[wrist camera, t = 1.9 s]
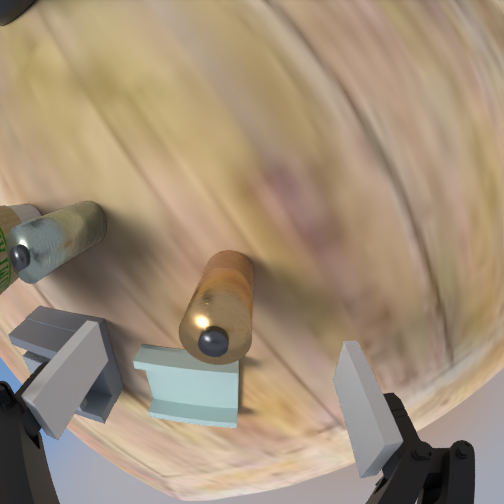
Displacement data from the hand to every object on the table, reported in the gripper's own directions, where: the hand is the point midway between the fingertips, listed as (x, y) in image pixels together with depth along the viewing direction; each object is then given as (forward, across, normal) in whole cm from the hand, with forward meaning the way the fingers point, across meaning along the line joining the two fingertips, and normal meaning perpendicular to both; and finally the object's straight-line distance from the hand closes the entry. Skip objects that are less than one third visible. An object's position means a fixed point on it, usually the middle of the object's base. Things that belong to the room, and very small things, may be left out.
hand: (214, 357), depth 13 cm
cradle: (+10, -18, -10) cm, 23 cm away
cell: (+10, 0, 0) cm, 10 cm away
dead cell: (+10, -13, +4) cm, 17 cm away
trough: (+10, -4, -12) cm, 17 cm away
